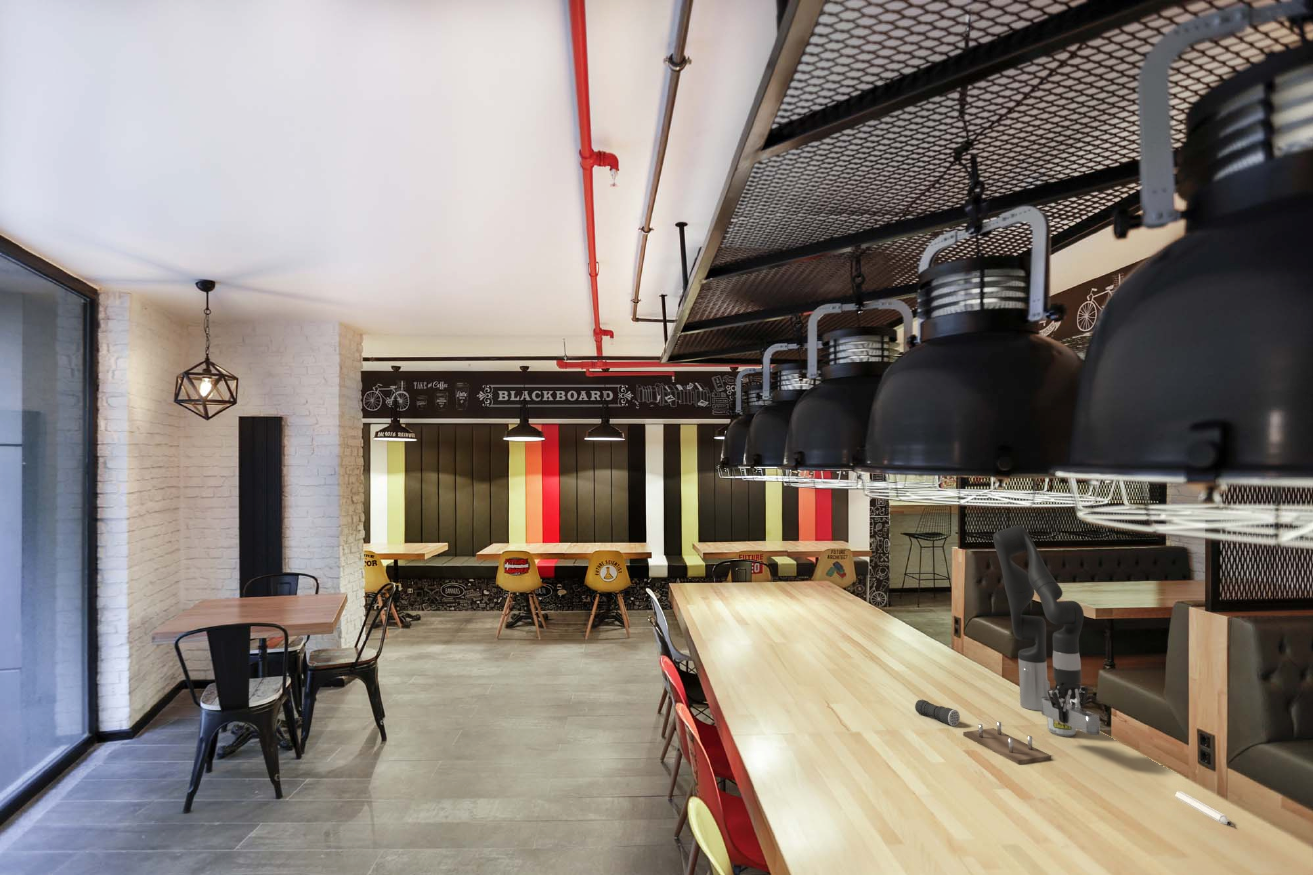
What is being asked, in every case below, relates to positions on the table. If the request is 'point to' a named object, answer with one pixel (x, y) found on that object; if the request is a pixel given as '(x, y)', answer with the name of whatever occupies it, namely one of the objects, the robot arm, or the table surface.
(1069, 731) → the beverage can
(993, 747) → the tool rest
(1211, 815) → the marker
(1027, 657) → the robot arm
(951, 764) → the table surface
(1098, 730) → the grey long metal bar
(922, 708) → the flashlight
